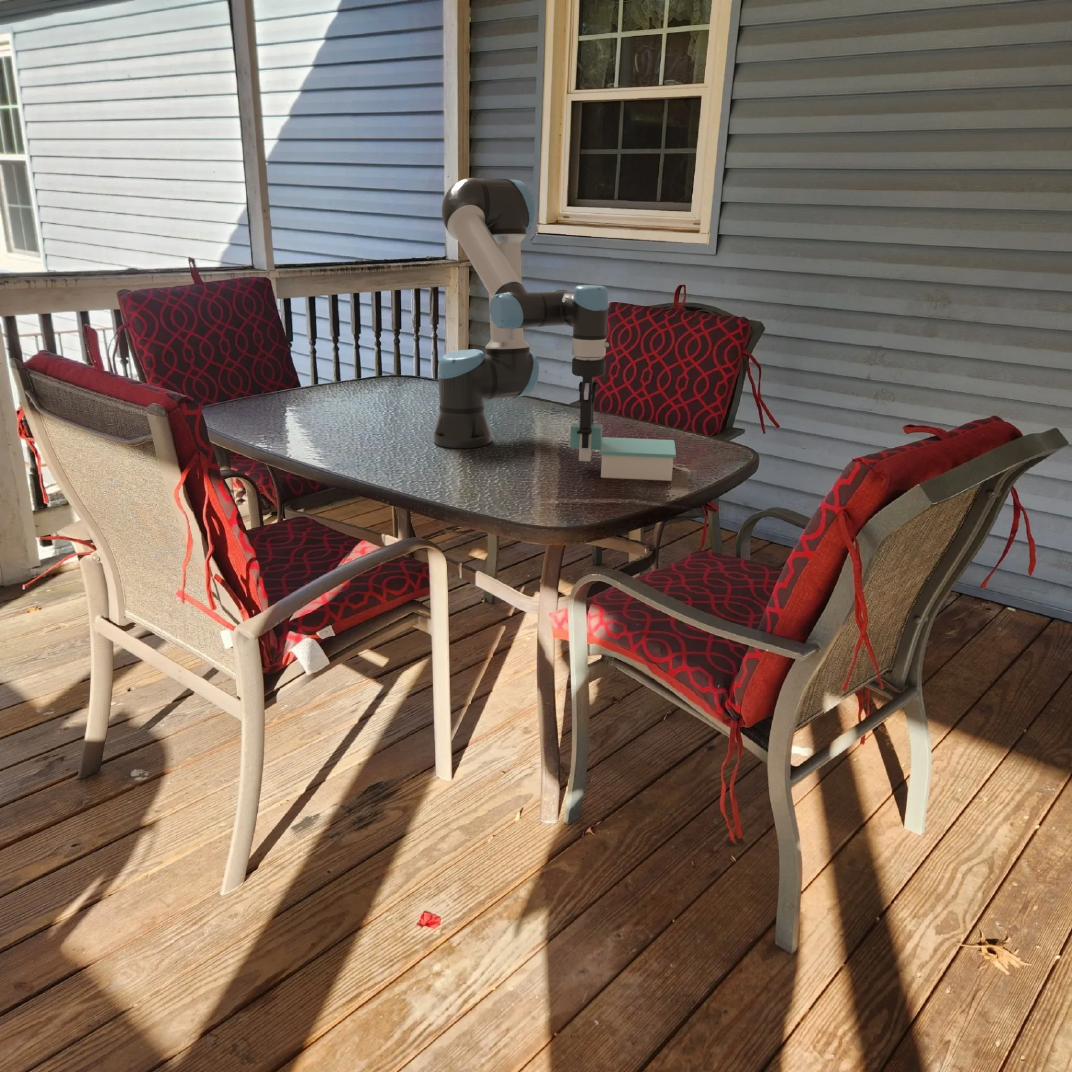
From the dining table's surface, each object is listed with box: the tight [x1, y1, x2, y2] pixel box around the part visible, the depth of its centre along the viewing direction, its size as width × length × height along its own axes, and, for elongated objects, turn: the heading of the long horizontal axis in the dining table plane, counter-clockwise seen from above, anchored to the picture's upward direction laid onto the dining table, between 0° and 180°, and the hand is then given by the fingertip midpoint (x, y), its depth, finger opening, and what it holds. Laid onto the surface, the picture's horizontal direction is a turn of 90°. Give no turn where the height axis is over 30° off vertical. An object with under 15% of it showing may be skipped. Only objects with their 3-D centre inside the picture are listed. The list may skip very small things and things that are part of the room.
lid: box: [569, 422, 677, 459], centre depth 197 cm, size 24×13×5 cm, turn 83°
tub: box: [600, 455, 674, 482], centre depth 198 cm, size 16×12×6 cm
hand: (585, 457), depth 200 cm, fingers closed on lid, 4 cm apart
